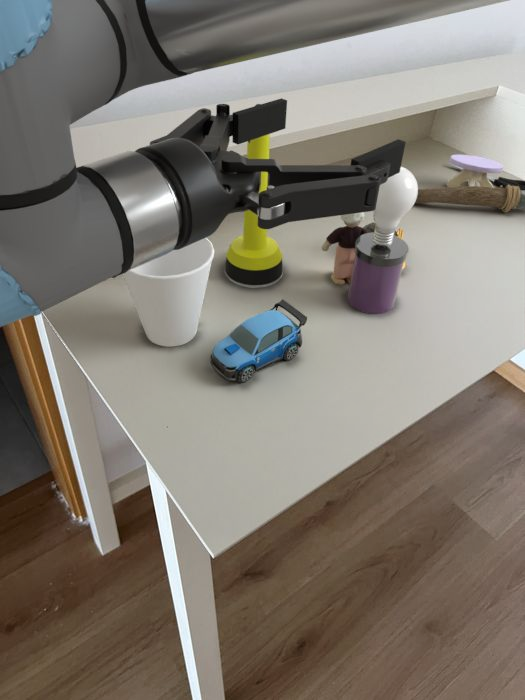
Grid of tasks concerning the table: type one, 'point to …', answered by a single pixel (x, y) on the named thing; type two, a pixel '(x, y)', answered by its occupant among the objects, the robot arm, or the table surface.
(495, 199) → the stone tool
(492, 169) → the toy table
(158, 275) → the cup
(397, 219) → the lightbulb
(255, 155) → the flashlight
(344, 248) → the grandmother figurine
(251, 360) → the toy car
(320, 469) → the table surface
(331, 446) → the table surface
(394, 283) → the jar
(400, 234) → the key
